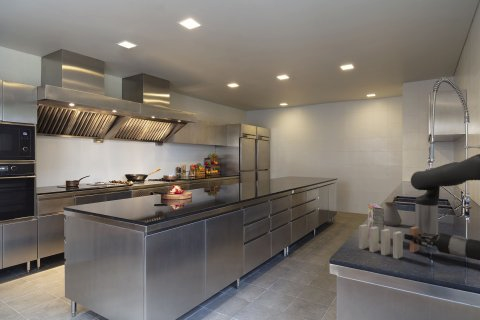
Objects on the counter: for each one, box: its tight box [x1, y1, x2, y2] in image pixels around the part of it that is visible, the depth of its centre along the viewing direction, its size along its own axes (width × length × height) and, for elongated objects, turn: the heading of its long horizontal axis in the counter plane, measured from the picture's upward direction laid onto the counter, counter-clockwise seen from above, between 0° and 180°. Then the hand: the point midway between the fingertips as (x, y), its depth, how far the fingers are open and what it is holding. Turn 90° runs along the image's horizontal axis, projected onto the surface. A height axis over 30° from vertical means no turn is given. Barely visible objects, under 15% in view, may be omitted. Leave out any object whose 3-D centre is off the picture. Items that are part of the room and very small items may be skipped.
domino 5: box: [409, 226, 420, 253], centre depth 123 cm, size 4×2×10 cm, turn 125°
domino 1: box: [358, 223, 369, 250], centre depth 129 cm, size 4×2×10 cm, turn 125°
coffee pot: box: [383, 196, 403, 227], centre depth 176 cm, size 21×12×15 cm, turn 143°
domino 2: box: [369, 227, 380, 253], centre depth 125 cm, size 4×2×10 cm, turn 125°
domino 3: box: [380, 228, 391, 256], centre depth 121 cm, size 4×2×10 cm, turn 125°
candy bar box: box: [367, 203, 385, 243], centre depth 143 cm, size 11×5×16 cm, turn 168°
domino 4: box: [392, 230, 404, 260], centre depth 117 cm, size 4×2×10 cm, turn 125°
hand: (407, 235), depth 125 cm, fingers closed on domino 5, 4 cm apart
